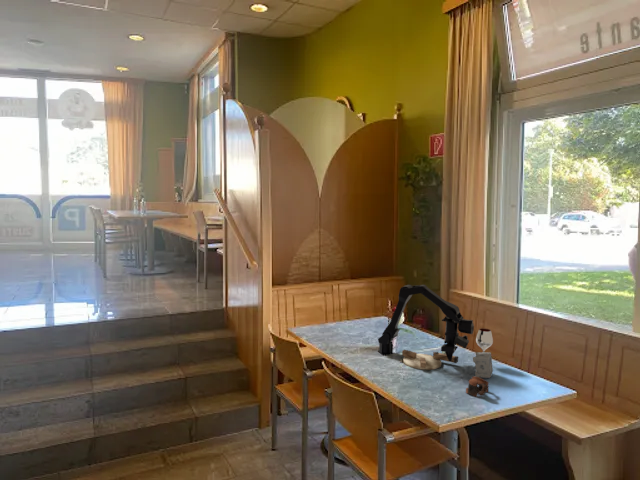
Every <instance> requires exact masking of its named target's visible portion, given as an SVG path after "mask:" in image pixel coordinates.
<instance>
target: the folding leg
mask: <svg viewBox="0 0 640 480" xmlns="http://www.w3.org/2000/svg"><path fill="white" fill-rule="evenodd" d="M432 356H433V358H435V359H439V360H441V361H445V362H448V363H449V362H450V363H453V364H457V363H459V356H457V355H453V356H452V360H451V361H449V360H448V358H447V355H446V354H442V352H439V351H433V355H432Z"/></svg>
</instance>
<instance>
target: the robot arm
mask: <svg viewBox="0 0 640 480" xmlns="http://www.w3.org/2000/svg"><path fill="white" fill-rule="evenodd" d="M419 294H421V295H423V296H424V297H425V298H427V300H429V301H430V302H431V303H433V304H435V306H437V307H439V309H440V310H441V312H442V313H443V314H444V315H445V316H444V317H443V319H441V321H442V322H445V332H444V337H445V340H444V342H443V344H442V345H441V347H440V351H441V353H442V352H445V353H446V355H447V358H448V360H449V361H451V360H452V356H454V353H455V352H456V350H457V349H458V346H459V347H462V348H463V349H467V346H468V345H469V342H470V340H469V339H468V335H466V334H469V335H473V334H474V330H475V329H474V328H475V325H474V320H473V319H465V318H464V317H463V315H462V314H461V312H460V307H459V306H457V304H454V303H453V302H449V301H447V300H445V299H443V297H441V296H439V295H438V294H437V293H436V292H434V291H433V290H432V289H430V287H428V286H427V285H426V284H419V285H412V284H407V285H406V284H405V285H404V286H401V287H400V289H399V291H398V301H397V304H396V306H395V308H394V311H393V314H392V317H391V320H390V322H389V323H388V325H387V326H386V327H385V329H384V331H383V332H382V335H381V336H380V337H378V338H377V342H378V345H379V347H378V350H377V352H378V353H380V354H381V355H382V356H386V355H388V356H389V355H394V344H393V341H394V339H396V337H398V336H399V332H400V330H401V329H399V323H400V321H401V318H402V316H403V314H404V311H405V309H406V306H407V303H408V302H409V301H410V299H411V298H412V296H413V295H419ZM459 333H463V334H464V335H463V336H462V335H459ZM457 345H458V346H457ZM449 361H448V362H449Z"/></svg>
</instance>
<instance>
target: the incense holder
mask: <svg viewBox="0 0 640 480" xmlns="http://www.w3.org/2000/svg"><path fill="white" fill-rule="evenodd" d="M472 362H473V363H474V365H475V373H474V376H476V377H479V378H482V379H485V378H486V379H490V378H491V376H492V374H493V371H494V369H493V368H494V367H493V361H492V353H491V352H490V351H489V352H488V351H487V352H483V351H482V352H478V351H477V352H475V356H472Z"/></svg>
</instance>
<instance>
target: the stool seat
mask: <svg viewBox="0 0 640 480" xmlns="http://www.w3.org/2000/svg"><path fill="white" fill-rule="evenodd" d="M401 352H402V353H401V356H403V359H402V360H403V364H404V365H405V366H407V367H409V368H412V369H416V370H423V371H430V370H437V369H439V368H441V367H442V360H439V359H435V358H433V355H431V354H426V353H417V352H415V351H411V350H408V349H403V350H402V351H401Z"/></svg>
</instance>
